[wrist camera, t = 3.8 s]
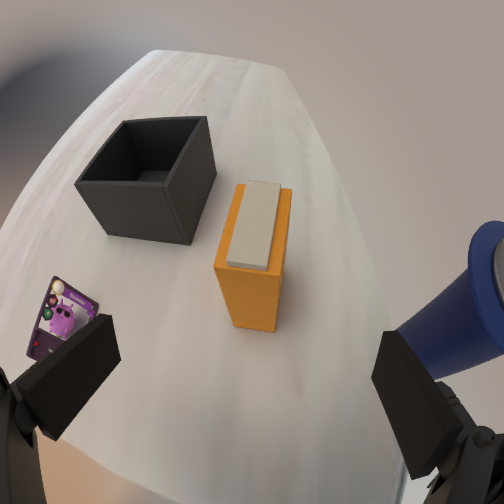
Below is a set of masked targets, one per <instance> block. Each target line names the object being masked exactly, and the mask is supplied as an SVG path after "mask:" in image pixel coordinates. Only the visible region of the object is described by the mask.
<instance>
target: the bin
mask: <svg viewBox="0 0 504 504" xmlns="http://www.w3.org/2000/svg"><path fill="white" fill-rule="evenodd" d="M216 174H217V172H216V167H215V161H214V155H213V150H212V144H211V138H210V133H209V127H208V121H207V116H185V117H163V118H148V119H136V120H127V121H122V122H121V124H120V125H119V126H118V127H117V128H116V129H115V131H114V132H113V133H112V134H111V135H110V137H109V138H108V139H107V140H106V142H105V143H104V144H103V145H102V147H101V148H100V149H99V150H98V152H97V153H96V154H95V156H94V157H93V158H92V160H91V161H90V162H89V164H88V165H87V166H86V168H85V169H84V171H83V172H82V173H81V175H80V176H79V178H78V179H77V181H76V182H75V184H74V186H75V187H76V189H77V190H78V192H79V193H80V195H81V197H82V198H83V200H84V201H85V203H86V204H87V206H88V207H89V209H90V210H91V212H92V213H93V215H94V216H95V217H96V219H97V220H98V222H99V223H100V225H101V226H102V227H103V229H104V230H105V232H106V233H107V234H108V235H115V236H122V237H130V238H137V239H145V240H153V241H160V242H168V243H175V244H183V245H191V242H192V239H193V236H194V233H195V231H196V228H197V225H198V222H199V219H200V217H201V214H202V211H203V208H204V206H205V203H206V200H207V198H208V195H209V192H210V190H211V187H212V185H213V182H214V179H215V177H216Z"/></svg>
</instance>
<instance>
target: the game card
mask: <svg viewBox="0 0 504 504" xmlns="http://www.w3.org/2000/svg"><path fill="white" fill-rule="evenodd" d="M51 290H53V292H54V294H50V292H51ZM55 294H56V295H63V296H64V297H66V298H68V299H70V300H72V301H74V302H75V303H77V304H78V305H80V306H82V307H83V308H85V309H86V310H88V311H87V314H88V315H89V316H90V318H89V322H90V321H91V320H92V319H94V317H95V314H96V312H97V309H98V303H96V302H95V301H93V300H92V299H90V298H89V297H87V296H85V295H84V294H82V293H81V292H79V291H78V290H76V289H75V288H73V287H72V286H70V285H69V284H67V283H66V282H64V281H63V280H61V279H60V278H59V277H57V276H53V278H52V280H51V283H50V285H49V288H48V290H47V293H46V295H45V298H44V300H43V303H42V306H41V309H40V311H39V314H38V317H37V320H36V323H35V326H34V329H33V332H32V336H31V339H30V342H29V346H28V349H27V353H26V355H27V356H28V357H30V358H32V359H34V360H36V361H38V360H39V359H40V358H42V357H44V356H46V355H48V354H50V353H52V352H53V351H54V350H56V349H57V348H58V347H59V346H60V345H62V344H63V343H64V342H65V341H64V340H62V339H60V338H58V337H60V336H63V338H64V339H65V338H66V335H67V334H68V333H69V332H70V331H71V330H72V328H73V326H74V323H75V316H74V315H75V314H76V312H75V313H74V312H73V311H72V310H71V308H72V306H73V304H71V306H70V307H68V306H67V305H64V304H63V299H61V302H60V304H59V305H57V303H58V299H57V297H56V295H55ZM46 303H47V304H48V306H49V307H45V306H46ZM92 305H93V306H94V307H93V310H91V307H92ZM51 308H52V309H51ZM42 316H43V318H44V319H45V321H46V320H50V326H51V327H50V331H49V332H52V331H53V332H54V333H55V334H56V335H57V337H56V336H54V335H52V334H50V333H48V332H46V331H44V330H43V329H41V328H39V327H38V326H39V323H40V320H41V317H42Z"/></svg>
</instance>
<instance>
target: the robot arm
mask: <svg viewBox="0 0 504 504" xmlns="http://www.w3.org/2000/svg"><path fill="white" fill-rule="evenodd" d="M491 274H492V280H493V285H494V288H495V292H496V295H497V297H498V300H499V302H500V305H501V307H502V309H503V311H504V238H503V239H501V241H500V242H499V243H498V244H497V245H496V246H495V248H494V250H493V252H492V257H491ZM120 361H121V357H120V353H119V349H118V344H117V340H116V335H115V330H114V325H113V320H112V315H106V314H99V315H97V316H96V317H95V318H94V319H92V320H91V321H90V322H88V323H87V324H86V325H85V326H84V327H82V328H81V329H80V330H79V331H77V332H76V333H75V334H74V335H72V336H71V337H70V338H69V339H68V340H66V341H65V342H64V343H63V344H62V345H60V346H59V347H58V348H57V349H56V350H54V351H53V352H52V353H50V354H48V355H46V356H44V357H42V358H40V359H39V360H38V361H37V362H36V363H35V365H34V364H33V365H32V366H31V367H30V368H29V369H27V370H26V371H25V372H24V373H23V374H22V375H20V376H19V377H18V378H17V379H16V380H15V381H14V382H12V383H11V384H9V382H8V380H7V378H6V375H5V373H4V371H3V369H2V368H1V367H0V504H47V502H46V497H45V493H44V487H43V482H42V476H41V469H40V462H39V453H38V443H37V434H36V431H35V430H34V429H35V427H36V426H37V425H38V427H39V428H40V430H41V432H42V433H43V435H45V436H47V437H49V438H50V439H52V440H54V441H57V440H58V438H59V437H60V436H61V435H62V433H63V432H64V431H65V429H66V428H67V427H68V426H69V424H70V423H71V422H72V420H73V419H74V418H75V417H76V415H77V414H78V413H79V412H80V410H81V409H82V408H83V407H84V405H85V404H86V403H87V402H88V400H89V399H90V398H91V397H92V395H93V394H94V393H95V392H96V390H97V389H98V388H99V387H100V385H101V384H102V383H103V382H104V381H105V379H106V378H107V377H108V376H109V374H110V373H111V372H112V371H113V370H114V368H115V367H116V366H117V365H118V364H119V362H120ZM371 379H372V381H373V383H374V386H375V388H376V390H377V393H378V395H379V397H380V400H381V402H382V404H383V407H384V409H385V412H386V414H387V417H388V419H389V421H390V424H391V426H392V429H393V431H394V434H395V437H396V439H397V442H398V444H399V447H400V449H401V452H402V455H403V457H404V460H405V463H406V466H407V468H408V471H409V474H410V477H411V480H414V479H417V478H421V477H424V476H428V475H430V473H431V472H432V471H433V470H434V468H435V467H436V466H437V468H438V470H439V473H438V474H437V476H436V477H435V478H434V479H433V480H432V481H431V482H430V484H429V485H428V486H427V488H430V486H431V485H432V486H431V489H430V491H429V493H428V495H427V497H426V499H425V501H424V503H423V504H504V433H503V434H495V432H494V431H493V430H492V429H490V428H488V427H486V426H477V425H476V424H475V422H474V421H473V419H472V418H471V416H470V415H469V414H468V412H467V411H466V409H465V408H464V406H463V405H462V404H460V400H459V399H458V398H457V397H456V395H455V394H454V392H453V391H452V389H451V388H450V387H449V386H447V385H446V384H445V383H443V382H442V381H440V382H435V381H434V380H433V379H432V377H431V376H430V374H429V373H428V371H427V370H426V369H425V367H424V366H423V364H422V363H421V362H420V360H419V359H418V358H417V356H416V355H415V353H414V352H413V351H412V349H411V348H410V347H409V345H408V344H407V343H406V341H405V340H404V339H403V337H402V336H401V335H400V333H399V332H398V331H383V335H382V339H381V343H380V347H379V351H378V355H377V359H376V362H375V366H374V369H373V373H372V376H371Z"/></svg>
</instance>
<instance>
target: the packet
mask: <svg viewBox="0 0 504 504" xmlns="http://www.w3.org/2000/svg"><path fill="white" fill-rule="evenodd" d="M291 197H292V190H291V189H283V188H281V184H275V183H266V182H255V181H247V184H246V185H244V184H238V185H237V187H236V191H235V194H234V197H233V201H232V204H231V207H230V211H229V214H228V217H227V221H226V224H225V228H224V231H223V234H222V238H221V241H220V245H219V248H218V252H217V255H216V259H215V262H214V266H213V267H214V270H215V273H216V276H217V279H218V282H219V285H220V288H221V291H222V294H223V296H224V299H225V302H226V305H227V308H228V311H229V314H230V317H231V319H232V322H233V325H234V326H236V327H242V328H248V329H254V330H261V331H267V332H275V326H276V320H277V313H278V307H279V301H280V294H281V287H282V280H283V273H284V265H285V257H286V247H287V238H288V228H289V218H290V208H291Z"/></svg>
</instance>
